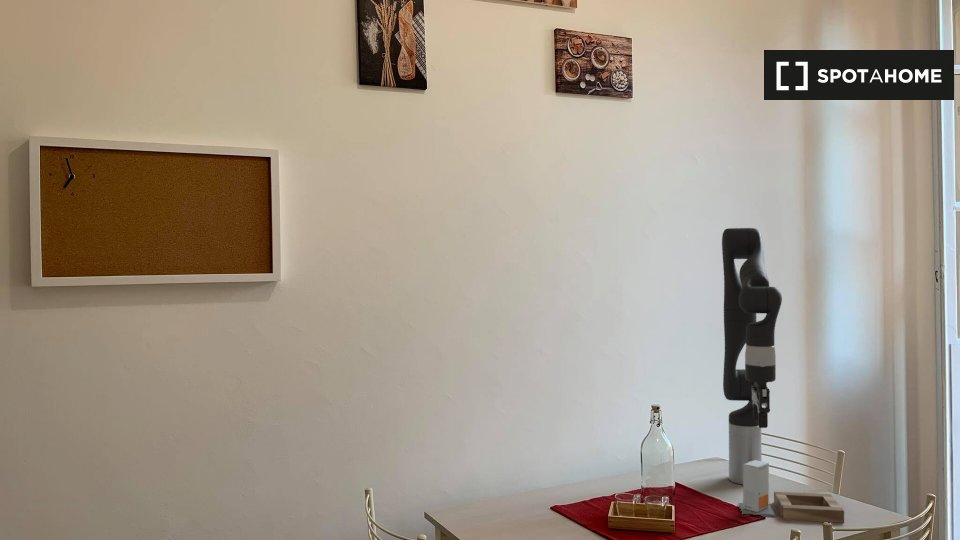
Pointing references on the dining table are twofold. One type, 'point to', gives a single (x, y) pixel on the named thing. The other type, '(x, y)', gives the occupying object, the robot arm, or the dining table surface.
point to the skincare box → (755, 485)
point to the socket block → (808, 507)
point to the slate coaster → (763, 512)
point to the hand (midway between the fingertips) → (760, 423)
